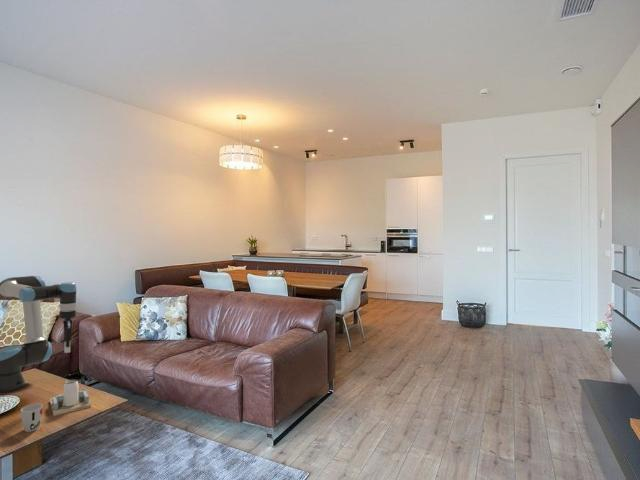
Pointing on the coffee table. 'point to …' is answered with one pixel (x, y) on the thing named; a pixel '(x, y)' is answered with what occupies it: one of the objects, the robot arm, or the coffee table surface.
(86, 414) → the coffee table surface
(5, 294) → the robot arm
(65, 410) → the base plate
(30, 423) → the cup
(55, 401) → the grey frame
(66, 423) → the coffee table surface
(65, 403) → the can
